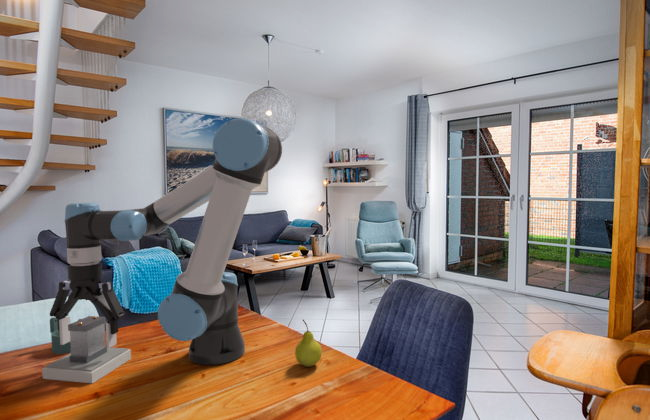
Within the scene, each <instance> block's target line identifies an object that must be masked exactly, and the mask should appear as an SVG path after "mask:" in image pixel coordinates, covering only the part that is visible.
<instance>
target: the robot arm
mask: <svg viewBox="0 0 650 420" xmlns="http://www.w3.org/2000/svg"><path fill="white" fill-rule="evenodd" d="M212 151H213V154H214V157H215V160H214V162H213V165H211V166H210V167H208V168H207V169H205V170H203V171H202V172H200V173H199V174H197V175H196V176H194V177H192V178H190V179H189V180H187V181H185V182H184V183H182V184H181V185H179V186H178V187H176V188H174V189H173V190H171V191H170V192H168V193H166V194H165V195H162V196H161V197H160V198H158V199H157V200H155V201H154V202H151V203H150V204H148V205H147V206H145V207H143V208H134V209H125V210H124V209H122V210H101V209H100V205H99V203H97V202H76V203H74V202H73V203H69V204H67V205H66V206H65V211H64V212H65V215H64V223H65V234H66V235H65V237H66V257H67V258H66V259H67V264H69V265H68V266H67V280H63V281H60V282H59V284H58V290H57V291H58V292H57V294H56V296H55V299H54V301H53V304H52V307H51V309H50V311H49V316H50V317H51V318H52V317H55V318H56V319H57V322H58V331H60V345H64V344H66V343H68V342H70V331H68V325H69V324H71V316H69V313H70V312H71V311H72V309H73V308H74V307H75V305H76V303H78V301H82V300H85V301H91V302H92V303H94V304H95V305H96V307H97V308H98V309H99V310H100V312H101V313H102V314H103V317H106V323H105V345H106V346H107V348H110V347H114V346H116V345H117V343H118V342H117V340H118V339H117V334H118V332H119V320H121V319H123V318H125V317H126V313H125V311H124V309H123V307H122V304H121V302H120V300H119V298H118V296H117V295H116V291H115V290H114V283H113V282H112V281H107V282H102V281H101V278H102V276H103V265H102V264H103V263H101V261H102V257H103V256H102V245H101V244H102V243H101V241H114V242H115V241H117V242H118V241H122V242H129V241H130V242H133V241H138V240H141V239H142V238H143V237H145V236H151V235H157V234H159V233H162V232H164V231H167V229H168V228H169V226H170V225H171V224H173V223H174V222H176V221H177V220H180V219H181V218H183V217H184V216H186V215H188V214H189V213H191V212H193V211H195V210H196V209H197V208H200V207H201V206H203V205H204V204H206V203H207V206H206V209H205V211H204V215H203V218H202V222H201V224H200V227H199V230H198V234H197V237H196V239H195V242H194V246H193V249H192V251H191V255H190V257H189V261H188V263H187V267H186V269H185V271H183V272H181V273H179V274H177V276H176V280H175V283H174V285H173V288H172V292H171V294H169V295H167V296H165V297H164V299H163V300H162V301H161V302H160V304H159V306H158V310H157V319H158V322H159V323H158V324H159V325H160V326H161V327H162V330H163V332H164V333H165V334H166V335H167V336H168V337H170V338H171V339H174V340H176V341H180V342H188V341H190V345H189V347H188V348H189V349H188V359H189V360H190V361H191V362H193V363H195V364H197V365H198V364H199V365H202V366H203V365H204V366H210V365H211V366H214V365H222V364H223V365H224V364H228V363H230V362H234V361H236V360H238V359H239V358H241V357H242V356H244V355H245V352H246V348H245V347H246V344H245V340H244V337H243V335H242V331H241V329H240V327H239V310H238V309H239V308H238V307H239V305H238V304H239V303H238V302H239V301H238V300H239V299H238V287H239V284H238V278H237V275H236V274H235V273H233V272H229V271H225V269H226V267H227V265H228V261H229V258H230V255H231V253H232V250H233V248H234V244H235V240H236V237H237V235H238V232H239V229H240V226H241V223H242V220H243V217H244V214H245V211H246V208H247V206H248V202H249V200H250V197H251V194H252V191H253V190H254V189H256V188H258V187H261V184H262V181H263V179H264V176H265V173H267V172H269V171H271V170H272V169H274V168H275V167H276V166H277V165H278V163H279V162H280V160H281V157H282V154H283V145H282V141H281V139H280V137H279V136H278V135H277V133H276V132H275V131H273V129H271V128H269V127H266V126H264V125H262V124H261V123H259V122H258V121H255V120H253V119H248V118H238V117H237V118H234V119H230V120H227V121H226V122H224V123H223V124H222V125H221V126H220V127H219V128H218V129H217V131H216V132H215V134H214V135H213V139H212ZM70 290H71V292H70Z"/></svg>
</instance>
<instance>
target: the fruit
mask: <svg viewBox="0 0 650 420" xmlns="http://www.w3.org/2000/svg"><path fill="white" fill-rule="evenodd" d="M302 322H303V323H304V325H305V327H306V329H307V330H306V331H305V332H304V333H303V336H302V339H301V340H299V342H298V343H297V344H296V347H295V351H294V355H295V359H296V361H297V362H298V363H299V364H300V365H301V366H302V367H304V368H310V367H313V366H315V365H317V364H318V363H319V361H320V360H321V358H322V354H323V353H322V352H323V349H322V346H321V344H320V343H319V342H317V341H316V340H315V337H314V334H313V333H312V331H309V328H308V324H307V323H306V321H305V319H302Z"/></svg>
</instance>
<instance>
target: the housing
mask: <svg viewBox="0 0 650 420" xmlns="http://www.w3.org/2000/svg"><path fill="white" fill-rule="evenodd" d="M80 319H81V320H79V319H78V320H79V321H78V320H77V321H74V322H70V324H69V325H68V331H70V344H71V356H69V358H70V362H77V363H89V362H90V361H92V360H94V359H96V358H97V357H99V356H101V355H103V354H104V353H106V352H107V345H106V322H107V318H106V317H105V316H98V315H88V316H86V317H84V318H80Z"/></svg>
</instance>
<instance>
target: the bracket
mask: <svg viewBox="0 0 650 420" xmlns="http://www.w3.org/2000/svg"><path fill="white" fill-rule="evenodd" d="M81 319H82V318H78V320H77V321H79V320H81ZM49 332H50V333H51V334H50V336H51V338H50V339H51V353H52V354H54V353H56V355H65V354H64V353H66V354H70V353H71V344H70V342H68V343H66V344H64V345H60V331H58V322H57V319H56V317H54V316H52V317H51V318H50V319H49Z"/></svg>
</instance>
